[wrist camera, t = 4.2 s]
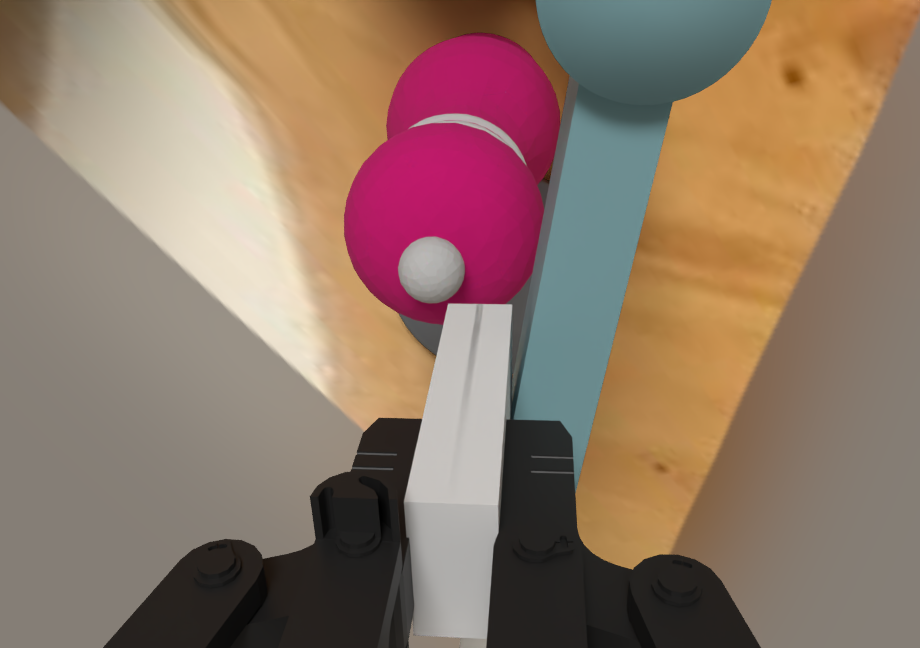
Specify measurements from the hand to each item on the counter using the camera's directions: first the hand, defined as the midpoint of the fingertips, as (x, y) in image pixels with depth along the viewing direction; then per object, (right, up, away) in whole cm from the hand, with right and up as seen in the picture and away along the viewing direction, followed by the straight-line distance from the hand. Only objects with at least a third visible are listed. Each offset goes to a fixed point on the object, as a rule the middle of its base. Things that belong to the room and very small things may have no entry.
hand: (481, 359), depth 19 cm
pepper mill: (+1, +11, +21) cm, 24 cm away
